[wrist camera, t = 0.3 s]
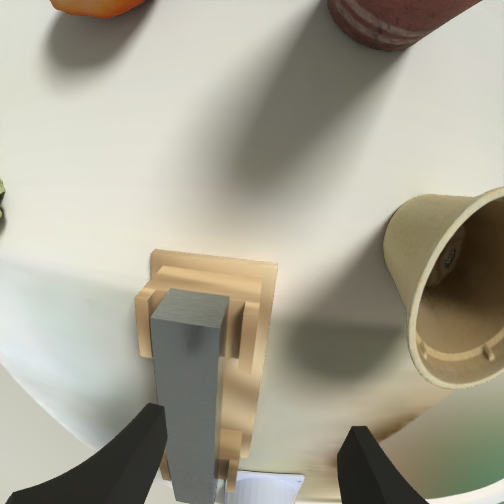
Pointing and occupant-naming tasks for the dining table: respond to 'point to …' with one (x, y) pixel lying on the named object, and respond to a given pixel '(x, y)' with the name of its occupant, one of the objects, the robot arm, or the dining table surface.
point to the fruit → (96, 7)
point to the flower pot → (451, 284)
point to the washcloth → (1, 193)
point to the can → (394, 19)
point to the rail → (191, 387)
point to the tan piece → (237, 343)
